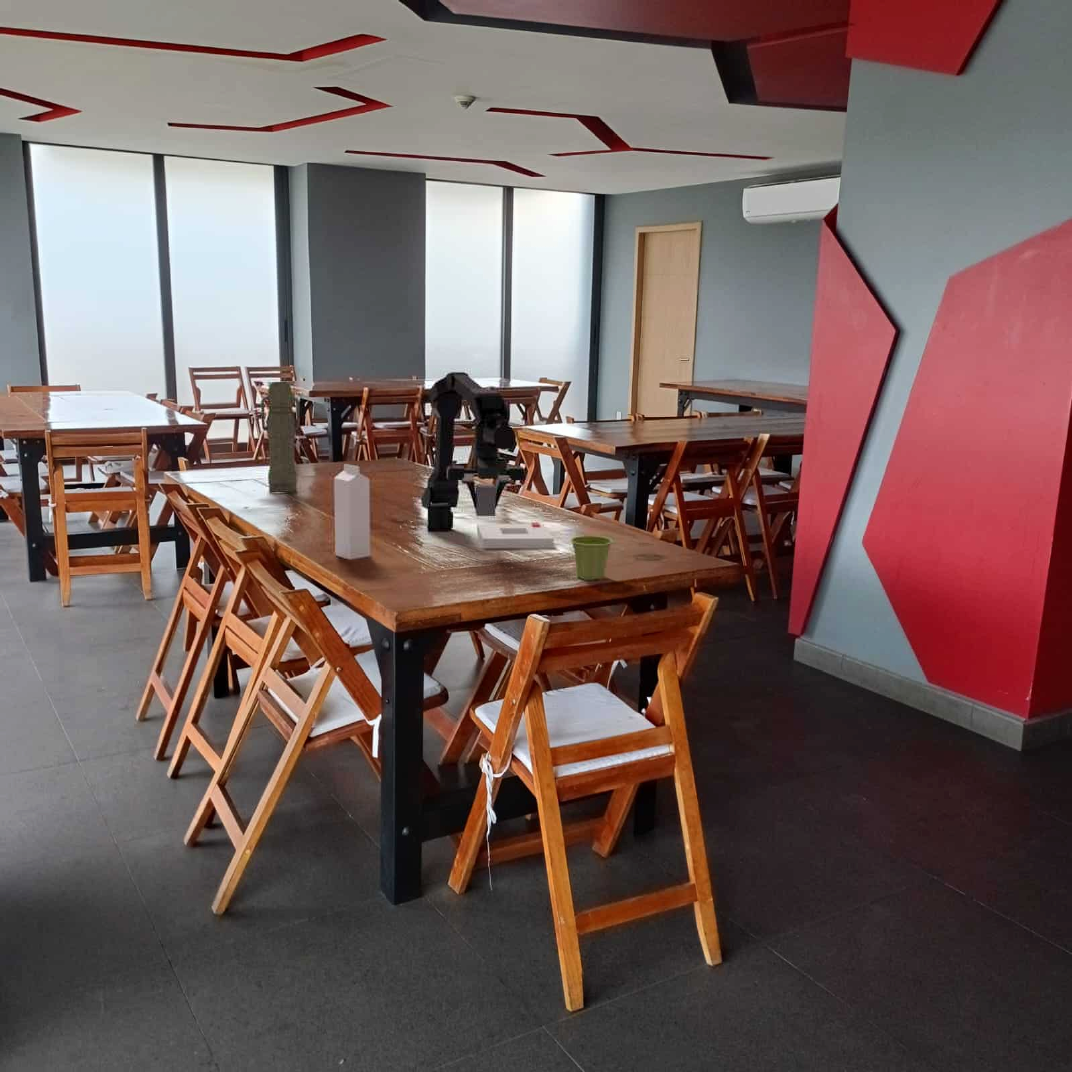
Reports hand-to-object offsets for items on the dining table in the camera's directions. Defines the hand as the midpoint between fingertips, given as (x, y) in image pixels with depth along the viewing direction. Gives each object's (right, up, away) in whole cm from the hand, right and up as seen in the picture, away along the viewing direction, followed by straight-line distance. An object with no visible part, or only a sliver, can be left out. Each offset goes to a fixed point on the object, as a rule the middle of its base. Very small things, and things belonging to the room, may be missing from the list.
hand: (485, 507), depth 242 cm
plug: (0, -2, 0) cm, 2 cm away
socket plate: (+7, -8, +17) cm, 20 cm away
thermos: (-70, +8, +79) cm, 106 cm away
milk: (-32, -12, -4) cm, 34 cm away
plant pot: (+25, -16, -18) cm, 35 cm away
